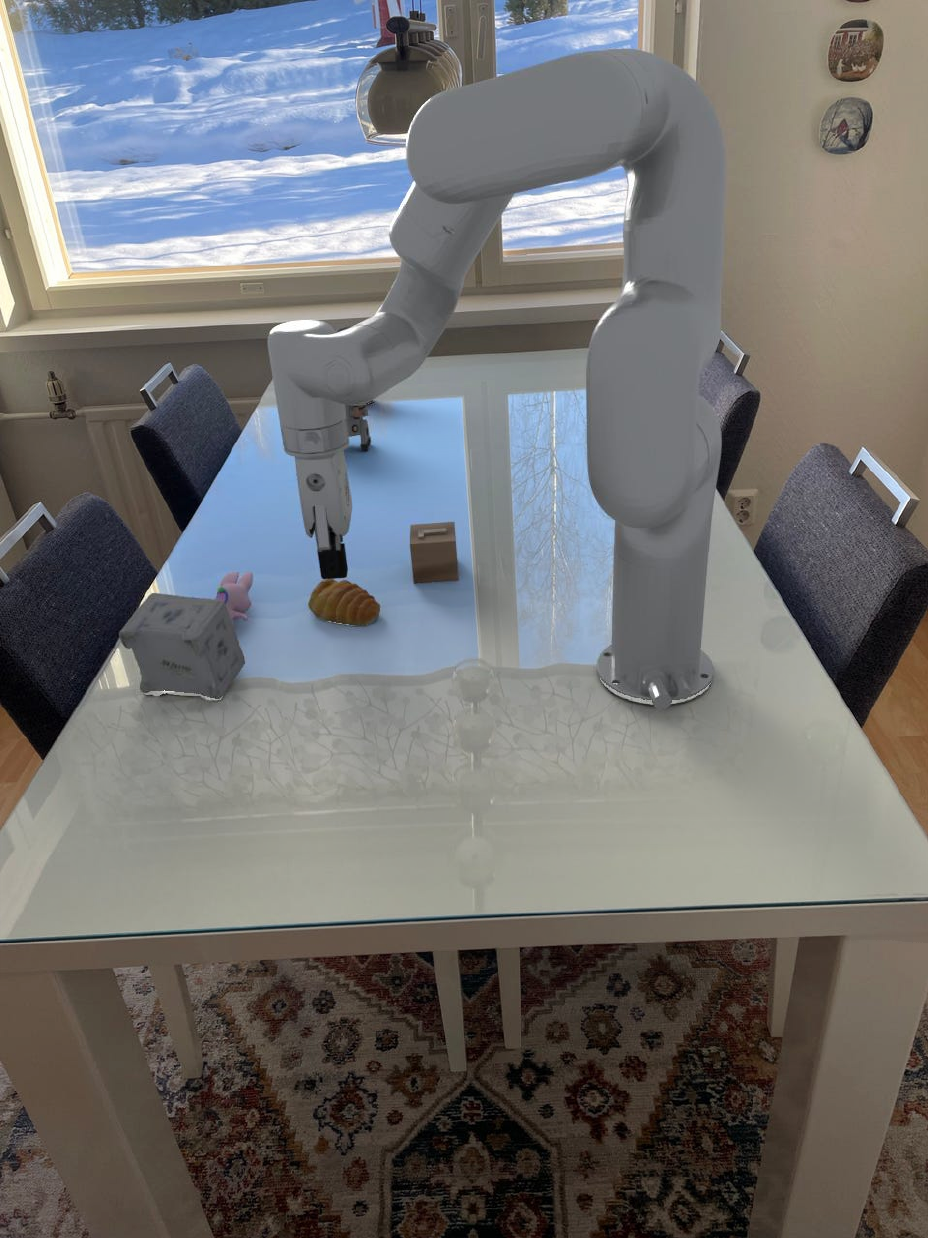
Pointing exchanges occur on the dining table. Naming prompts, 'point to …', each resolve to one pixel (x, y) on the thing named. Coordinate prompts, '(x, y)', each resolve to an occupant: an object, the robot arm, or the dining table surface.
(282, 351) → the robot arm
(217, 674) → the incense holder
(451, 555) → the lettered block
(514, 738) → the dining table surface
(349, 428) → the figurine
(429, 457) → the dining table surface
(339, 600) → the pastry
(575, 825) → the dining table surface
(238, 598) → the rabbit figure
